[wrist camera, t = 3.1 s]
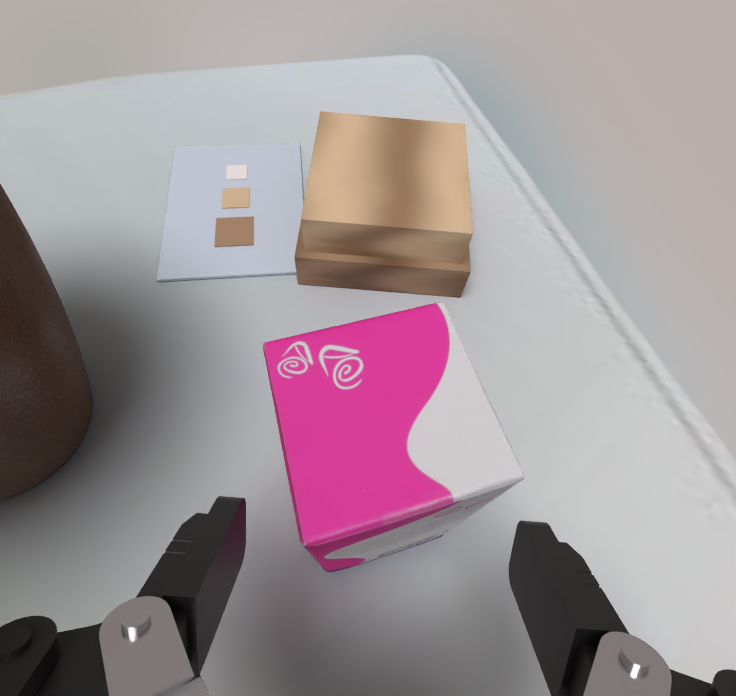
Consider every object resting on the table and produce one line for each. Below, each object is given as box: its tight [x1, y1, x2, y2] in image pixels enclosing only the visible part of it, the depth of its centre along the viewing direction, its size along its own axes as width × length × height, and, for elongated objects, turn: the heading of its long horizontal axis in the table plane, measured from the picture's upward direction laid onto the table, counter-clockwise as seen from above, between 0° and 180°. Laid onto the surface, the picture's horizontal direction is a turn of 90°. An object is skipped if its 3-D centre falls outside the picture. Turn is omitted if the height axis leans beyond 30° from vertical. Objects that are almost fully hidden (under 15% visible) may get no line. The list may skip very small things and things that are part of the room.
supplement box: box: [263, 302, 525, 572], centre depth 16 cm, size 6×6×12 cm
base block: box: [294, 111, 473, 297], centre depth 27 cm, size 10×10×5 cm
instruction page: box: [156, 143, 303, 282], centre depth 30 cm, size 9×12×1 cm
